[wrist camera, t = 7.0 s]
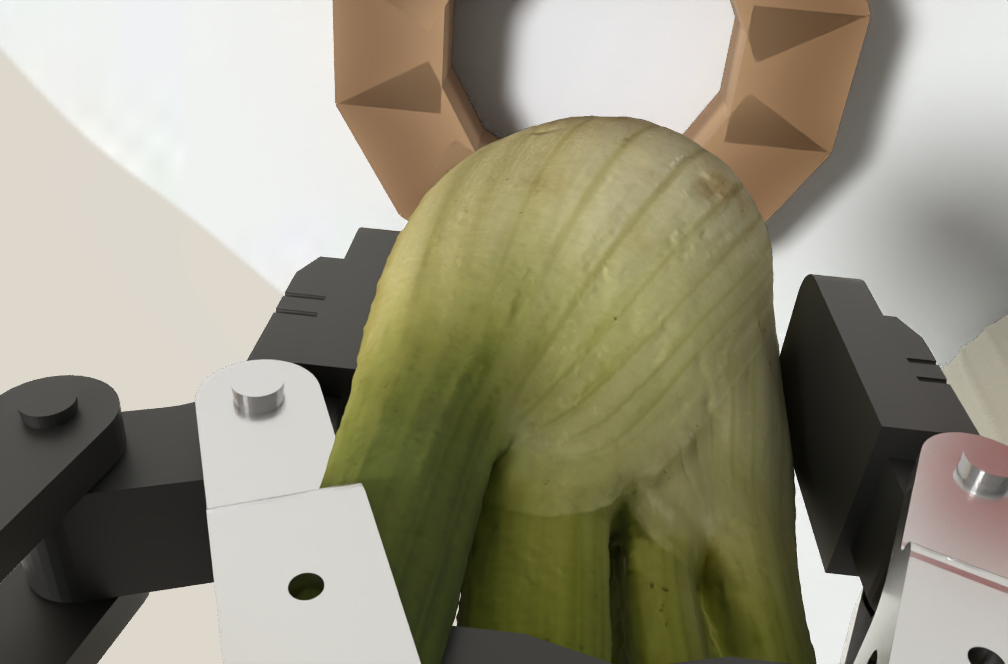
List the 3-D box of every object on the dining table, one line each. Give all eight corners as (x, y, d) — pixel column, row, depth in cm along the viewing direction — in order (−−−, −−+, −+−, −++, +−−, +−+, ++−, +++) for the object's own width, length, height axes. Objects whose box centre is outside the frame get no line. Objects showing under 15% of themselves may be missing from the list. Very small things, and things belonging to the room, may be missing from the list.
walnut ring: (908, -220, 22) (937, -218, 20) (774, 276, 30) (786, 310, 28) (347, -270, 23) (325, -273, 21) (354, 233, 30) (339, 263, 28)
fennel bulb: (401, 142, 15) (35, 885, 5) (672, 1, 14) (913, 666, 4) (557, 392, 18) (518, 1222, 8) (799, 297, 16) (1153, 1178, 6)
